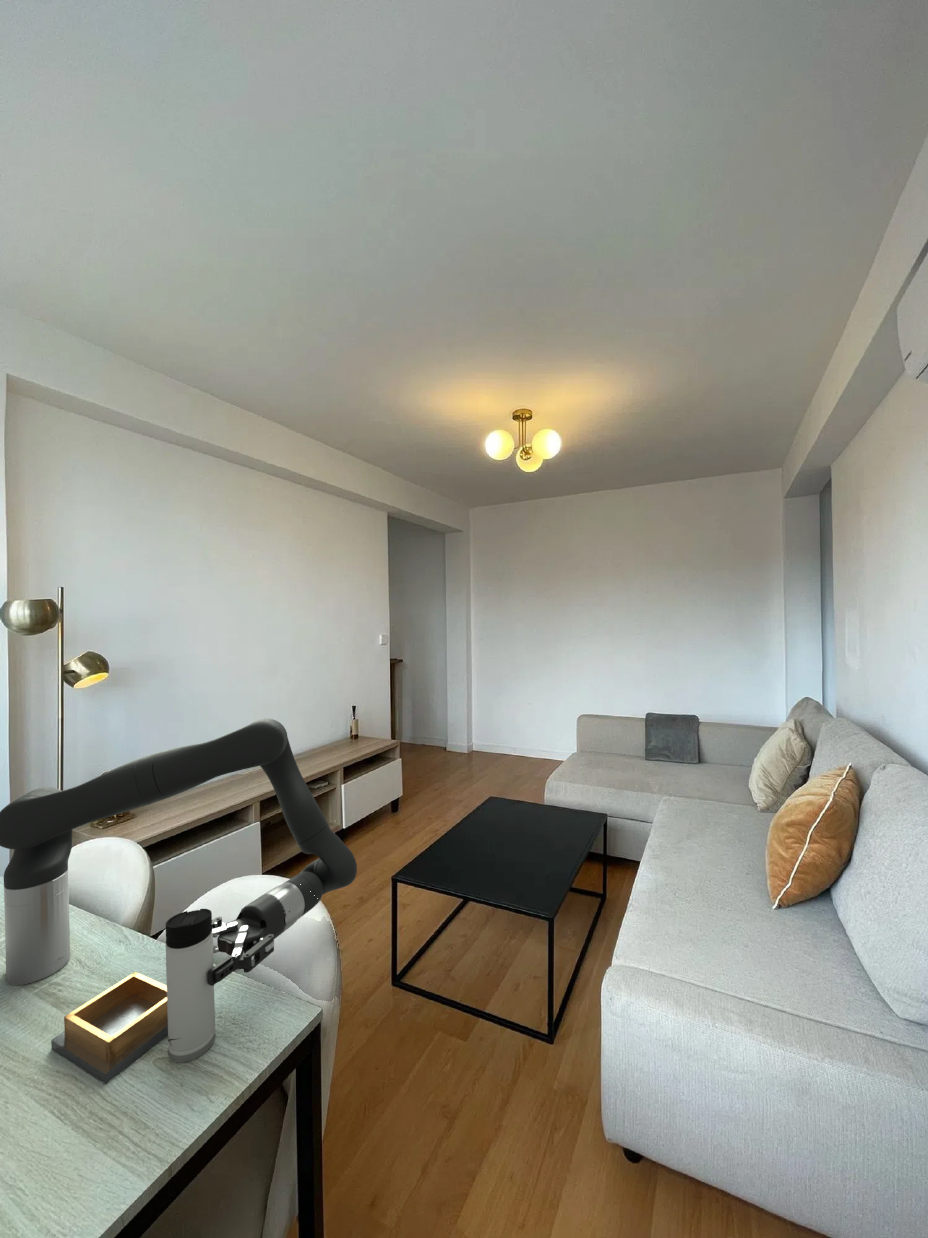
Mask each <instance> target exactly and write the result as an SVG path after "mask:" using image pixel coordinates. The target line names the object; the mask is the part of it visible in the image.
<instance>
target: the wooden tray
mask: <svg viewBox="0 0 928 1238" xmlns="http://www.w3.org/2000/svg"><path fill="white" fill-rule="evenodd" d="M63 1018H64V1019H63V1020H64V1022H63V1023H64V1028H63V1029H64V1030H63V1032H61V1033H59V1034H57V1035H56V1036H55V1037H53V1038H52V1039H51V1040H50V1043H51V1044H50V1046H51V1048H50V1049H51V1051H53V1052H54V1053H56V1054H57V1055H59V1056H61V1058H63V1059H65V1060H67V1061H68V1062H70V1063H71V1064H73V1065H74V1066H76V1067H78V1068H79V1069H80V1070H83V1071H84V1072H86V1073H87V1074H89V1075H90V1076H92V1077H93V1078H95V1079H96V1080H98V1081H99V1082H101V1083H103V1084H104V1085H107V1084H108V1083H109V1082H111V1081H112V1080H113V1079H115V1078H116V1077H117V1076H118V1075H119V1074H121V1073H122V1072H124V1070H126V1069H127V1068H128V1067H129V1066H131V1065H132V1064H134V1063H135V1062H136V1061H137V1060H139V1059H140V1058H141V1057H142V1056H143V1055H145V1054H146V1053H147V1052H149V1051H150V1050H151V1049H152V1048H154V1047H155V1046H156V1045H158V1044H159V1043H160V1042H162V1040H164V1039H165V1038H167V1037H168V1014H167V984H164V983H161V982H159V981H157V980H155V979H153V978H150V977H148V976H146V975H144V974H142V973H139V972H137V971H134V972H132V973H131V974H130V975H128V976H127V977H124V979H122V980H120V981H119V982H117V983H116V984H114V985H113V986H111V987H109V988H108V989H106V990H104V991H102V992H101V993H100V994H98V995H96V996H95V997H94V998H91V999H90V1000H89V1001H87V1002H85V1003H84V1004H82V1005H81V1006H79V1007H78V1008H76V1009H74V1010H73V1011H71V1012H69V1013H68V1014H66V1015H65V1016H63Z"/></svg>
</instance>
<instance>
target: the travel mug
mask: <svg viewBox="0 0 928 1238" xmlns="http://www.w3.org/2000/svg"><path fill="white" fill-rule="evenodd" d="M212 912H213V911H212V910H210V909H208V908H200V909H195V910H190V911H188V910H185V911H182V912H179V913H178V914H175V915H173V916H172V917H170V918H169V919H168V920H166V922H165V960H166V961H165V963H166V964H165V968H166V970H165V971H166V973H165V974H166V986H167V1014H168V1035H167V1043H168V1044H167V1045H168V1049H167V1050H168V1058H169V1059H170V1060H171V1061H173V1062H175V1063H187V1062H191V1061H193V1060H195V1059H197V1058H199V1057H201V1056H202V1055H204V1054H205V1053H207V1052H208V1051H209V1049H210V1048H211V1047H212V1045H213V1044H214V1042H215V1040H216V1012H215V1011H216V1009H215V1008H216V1007H215V985H213V986H211V985H208V983H207V973H208V971H209V970H210V969H211V968H213V967H214V966H215V965H214V954H213V945H214V938H213V934H212V932H213V929H212V920H213V916H212Z"/></svg>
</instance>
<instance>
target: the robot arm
mask: <svg viewBox="0 0 928 1238" xmlns="http://www.w3.org/2000/svg"><path fill="white" fill-rule="evenodd" d="M256 767H260V768H261V769H262V771H263V772H264V773H265V775H266V776H267V778H268V780H269V782H270V784H271V786H272V788H273V790H274V793H275V795H276V797H277V799H278V800H277V801H278V803H279V807H280V809H281V812H282V815H283V818H284V820H285V822H286V824H287V827H288V828H289V831H290V834H292V835H291V836H293V838H294V840H295V842H296V844H297V847H298V848H299V849H300V851H301V852H302V853H303V854H306V855H315V856H317V859H315V860H314V861H312V862H310V863H308V864H307V865H306V866H305V867H304V868H303V869H302V870H301V871H300V872H299V873H298V874H296V875H294V876H292V878H290V879H288V880H286V881H284V882H282V883H281V884H280V885H276V886H275V887H273V888H271V889H270V890H269V891H267V892H265V893H264V894H262V895H260V896H259V897H258V898H256V899H255V900H253V901H251V902H250V903H248V904H246V905H245V906H244V907H243V908H241V910H240V911H239V914H238V915H237V917H236V919H234V920H231V921H229V922H226V923H225V922H223V918H222V916H217V917H215V918H212V929H213V932H212V934H213V939H214V938H217V939H216V941H217V942H216V943H217V944H216V945H214V944H213V955H214V954H217V953H225V954H227V957H225V958H223V959H222V960H221V961H220V962H218V963H217V964H215V965H213V966H214V967H213V968H211V969H210V970H209V971H208V973H207V983H208V985H211V986H213V985H214V986H215V985H216V984H218V983H219V982H221V981H223V980H224V979H225V978H227V977H228V976H229V975H230V974H232V973H233V972H234V973H236V972H240V970H243V973H244V974H245V973H250V972H251V971H252V970H254V969H255V968H256V967H257V966H258V965H259V964H260V963H262V962H263V961H265V959H266V958H268V957H269V956H270V955H271V954H272V953H273V952H274V951H275V939H277V938H278V937H280V936H281V935H282V934H283V933H285V932H286V931H288V930H289V929H290V928H291V927H292V926H293V925H294V924H295V923H297V921H298V920H300V919H301V918H302V917H303V916H304V915H306V914H307V913H308V912H310V911H311V910H312V909H313V908H315V907H316V906H317V905H318V903H320V901H321V899H322V896H324V895H325V894H327V893H329V892H333V891H335V890H339V889H342V888H345V887H348V886H349V885H351V884H352V883H353V882H354V881H355V879H356V877H357V874H358V872H357V871H358V866H357V861H356V857H355V856H354V853H353V852H352V851H351V849H350V848H349V847H348V846H347V845H346V844H345V843H344V841H342V839H341V838H340V837H339V836H338V835H337V834H336V833H335V832H334V831H333V830H332V829H331V827H330V826H329V824H328V821H327V820H326V818H325V816H324V814H323V812H322V810H321V808H320V806H319V805H318V802H317V801H316V799H315V797H314V796H313V794H312V792H311V790H310V788H309V786H308V785H307V783H306V781H305V779H304V777H303V775H302V774H301V771H300V769H299V766H298V764H297V762H296V759H295V757H294V753H293V751H292V747H291V744H290V741H289V737H288V732H287V729H286V728H285V726H284V725H283V724H282V723H281V722H280V721H278V720H276V719H273V718H262V719H258V720H256V721H253V722H250V723H249V724H246V725H245V726H243V727H241V728H238V729H237V730H235V731H232V732H229V733H227V734H225V735H223V736H220V737H217V738H214V739H212V740H208V741H206V742H201V743H200V742H199V743H194V744H190V745H189V744H188V745H184V746H179V747H178V746H177V747H173V748H169V749H166V750H162V751H158V752H156V753H153V754H152V753H151V754H150V755H147V756H143V757H140V758H137V759H135V760H132V761H129V762H127V763H125V764H122V765H120V766H117V767H115V768H113V769H111V770H109V771H107V772H104V773H102V774H101V775H99V776H95V778H92V779H91V780H88V781H85V782H84V783H81V784H79V785H77V786H73V787H71V788H67V789H64V790H61V789H60V788H56V787H53V786H52V787H51V786H43V787H39V788H36V789H33V790H31V791H29V792H27V793H25V794H23V795H22V796H20V797H17V799H15V800H13V801H11V802H10V803H8V804H7V805H6V806H5V807H3V808H2V809H1V810H0V847H2V848H3V849H8V850H13V854H12V857H11V859H10V860H9V863H8V864H7V866H6V868H5V870H4V872H3V902H4V907H3V908H4V934H5V935H4V939H5V940H4V942H5V943H4V944H5V945H4V947H5V981H6V983H7V984H9V985H13V986H19V985H26V984H30V983H34V982H38V981H40V980H42V979H45V978H47V977H50V976H51V975H52V974H53V975H54V974H55V973H56V972H58V971H59V970H61V969H62V968H63V967H64V966H65V965H67V964H68V962H69V961H70V959H71V941H70V940H71V938H70V937H71V934H70V933H71V931H70V930H71V928H70V897H69V896H70V892H69V890H70V888H69V886H70V885H69V859H70V855H71V852H72V848H73V847H72V846H73V830H74V829H76V828H79V827H82V826H84V825H87V824H89V823H92V822H95V821H99V820H102V819H106V818H111V817H113V816H117V815H120V814H123V813H126V812H130V811H132V810H136V809H139V808H141V807H145V806H148V805H151V804H154V803H157V802H160V801H163V800H167V799H169V798H172V797H174V796H176V795H179V794H181V793H184V792H187V791H189V790H191V789H194V788H196V787H198V786H200V785H203V784H205V783H207V782H208V781H211V780H213V779H215V778H219V777H221V776H224V775H228V774H231V773H234V772H238V771H243V770H248V769H251V768H256ZM300 884H301V885H300ZM310 891H311V892H310ZM314 895H315V896H314ZM317 898H318V899H317Z"/></svg>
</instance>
